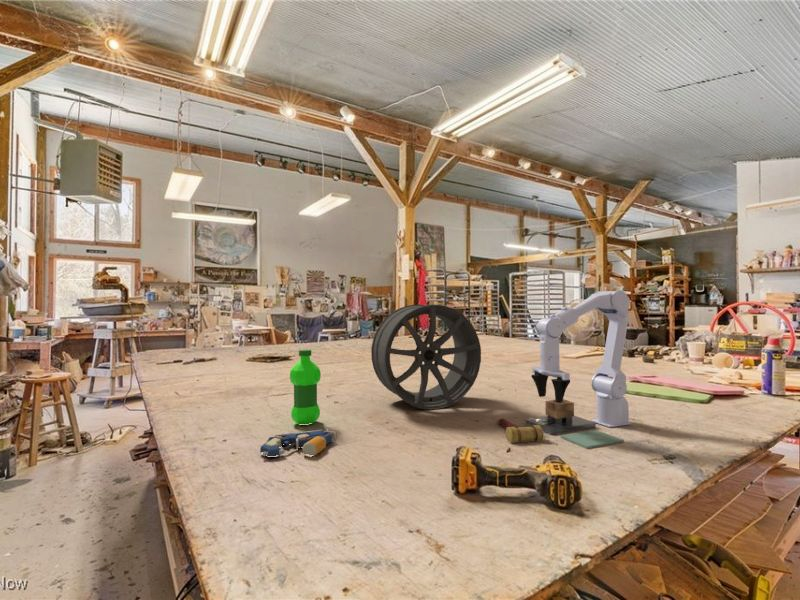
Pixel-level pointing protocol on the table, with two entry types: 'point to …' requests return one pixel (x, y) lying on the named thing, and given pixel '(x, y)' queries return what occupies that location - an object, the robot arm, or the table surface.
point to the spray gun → (298, 442)
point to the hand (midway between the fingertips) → (550, 398)
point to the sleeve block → (559, 409)
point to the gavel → (521, 432)
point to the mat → (591, 439)
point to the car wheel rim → (429, 356)
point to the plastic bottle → (305, 389)
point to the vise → (560, 424)
